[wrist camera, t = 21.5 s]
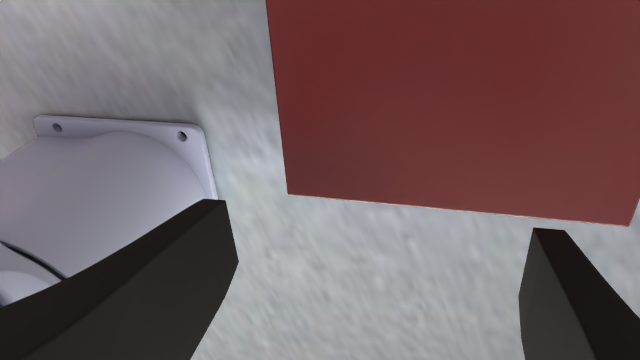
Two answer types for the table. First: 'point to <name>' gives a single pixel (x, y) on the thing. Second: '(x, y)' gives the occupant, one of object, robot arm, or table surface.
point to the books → (462, 104)
